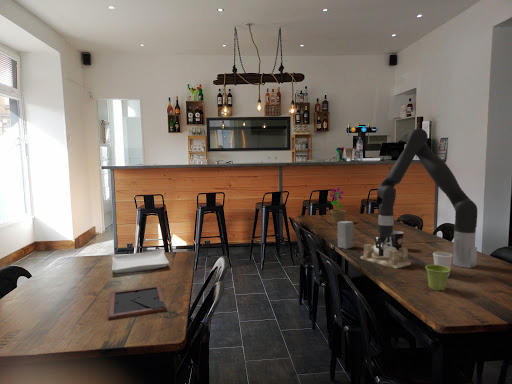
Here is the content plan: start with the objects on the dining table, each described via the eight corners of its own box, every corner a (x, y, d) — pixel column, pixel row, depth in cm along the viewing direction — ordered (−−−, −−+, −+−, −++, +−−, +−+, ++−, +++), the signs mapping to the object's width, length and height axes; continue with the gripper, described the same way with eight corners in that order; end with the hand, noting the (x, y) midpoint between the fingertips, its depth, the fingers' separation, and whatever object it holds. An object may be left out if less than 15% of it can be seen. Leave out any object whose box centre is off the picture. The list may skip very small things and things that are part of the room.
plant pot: (452, 287, 149) (453, 267, 149) (446, 294, 142) (447, 273, 142) (428, 282, 156) (429, 263, 155) (421, 288, 149) (422, 268, 148)
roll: (404, 259, 182) (404, 248, 181) (397, 261, 178) (397, 250, 178) (373, 252, 197) (374, 241, 197) (366, 253, 194) (366, 242, 194)
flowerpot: (343, 220, 310) (344, 186, 307) (349, 223, 295) (349, 187, 293) (327, 221, 309) (327, 186, 306) (332, 224, 294) (332, 188, 292)
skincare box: (346, 249, 214) (346, 223, 213) (336, 247, 220) (336, 221, 218) (354, 246, 219) (354, 221, 218) (344, 244, 225) (345, 220, 223)
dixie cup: (452, 279, 160) (453, 257, 159) (431, 276, 164) (432, 254, 163) (452, 273, 167) (453, 252, 166) (432, 271, 171) (433, 250, 170)
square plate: (163, 256, 206) (162, 249, 206) (169, 269, 181) (169, 262, 180) (112, 262, 196) (112, 255, 196) (112, 277, 171) (111, 269, 171)
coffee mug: (400, 247, 218) (401, 230, 217) (405, 250, 209) (405, 233, 208) (381, 246, 219) (381, 230, 218) (384, 250, 210) (385, 233, 209)
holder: (410, 264, 182) (411, 249, 181) (396, 268, 176) (396, 252, 175) (375, 255, 200) (375, 241, 200) (360, 258, 194) (360, 244, 193)
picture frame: (167, 312, 131) (160, 289, 155) (166, 306, 131) (160, 284, 154) (108, 321, 124) (110, 295, 148) (108, 315, 124) (110, 291, 148)
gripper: (382, 226, 179) (382, 259, 181) (400, 223, 187) (399, 254, 188) (370, 224, 185) (370, 255, 187) (388, 221, 193) (387, 251, 195)
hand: (385, 255), depth 188 cm, fingers closed on roll, 6 cm apart
